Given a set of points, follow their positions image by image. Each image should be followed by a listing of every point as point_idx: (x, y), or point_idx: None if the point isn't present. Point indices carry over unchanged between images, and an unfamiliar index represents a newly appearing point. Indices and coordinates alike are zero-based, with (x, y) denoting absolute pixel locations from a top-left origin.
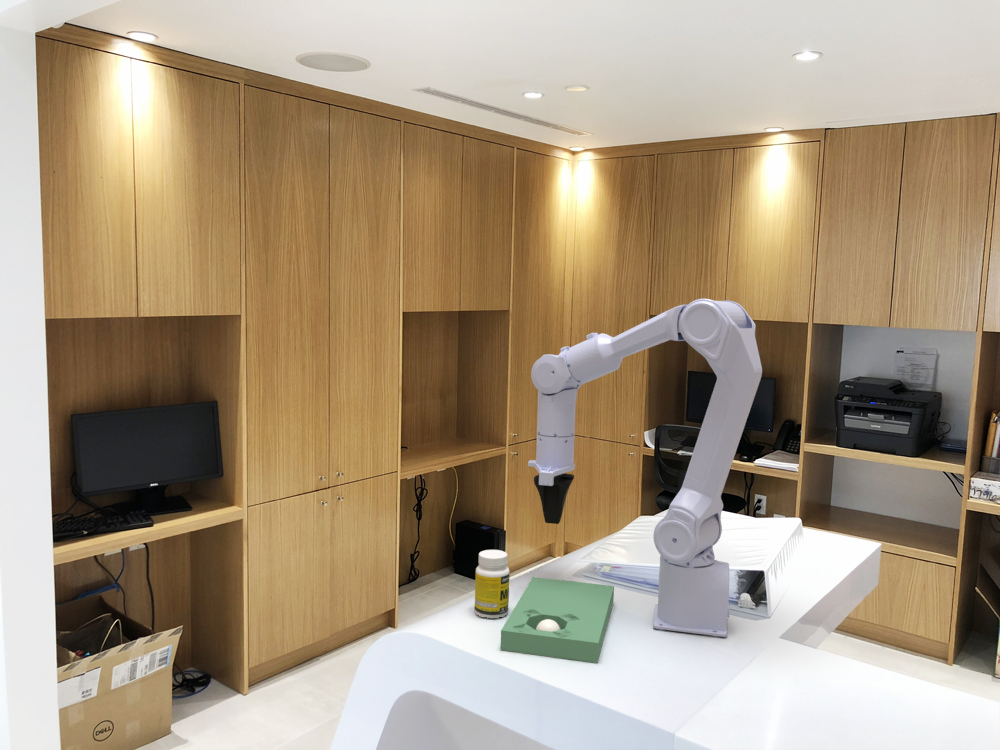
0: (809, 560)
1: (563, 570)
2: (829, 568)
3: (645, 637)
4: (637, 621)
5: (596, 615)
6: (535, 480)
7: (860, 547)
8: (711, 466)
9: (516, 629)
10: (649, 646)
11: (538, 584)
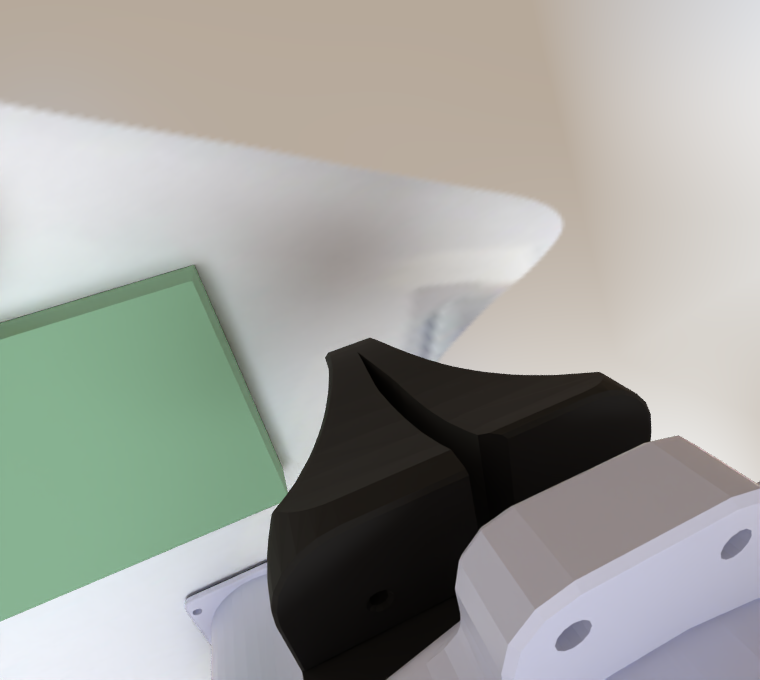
0: None
1: (444, 247)
2: None
3: (127, 608)
4: (206, 555)
5: (26, 587)
6: (270, 565)
7: None
8: None
9: None
10: (85, 636)
11: (130, 337)
